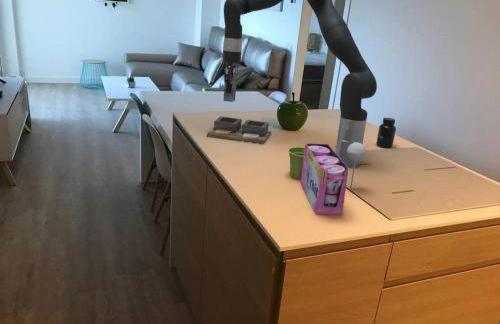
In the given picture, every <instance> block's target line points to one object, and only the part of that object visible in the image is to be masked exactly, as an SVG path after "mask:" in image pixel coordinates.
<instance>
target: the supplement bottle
mask: <svg viewBox="0 0 500 324" xmlns="http://www.w3.org/2000/svg"><path fill="white" fill-rule="evenodd" d="M395 124H396V119H395V118H392V117H383V118H382V123H381V124H380V125H379V126H378V133H377V138H376V142H375V144H376V146H377V147H378V148H382V149H392V148H393V146H394V141H395V136H396V130H397V127H396V126H395Z"/></svg>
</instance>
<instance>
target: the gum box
mask: <svg viewBox="0 0 500 324" xmlns="http://www.w3.org/2000/svg"><path fill="white" fill-rule="evenodd" d="M304 147H305V148H304V158H303V167H302V176H301V179H300V185H301V187H302V190H303V191H304V193H305V196H306V198H307V199H308V202H309V204H310V206H311V209H312V211H313V213H314V214H315V215H327V216H328V215H333V216H334V215H335V216H337V215H338V216H343V210H344V203H345V199H346V198H345V196H346V189H347V183H348V175H349V171H350V170H349V167H347V166H346V164H345V163H344V162H343V161H342V160H341V159H340V158H339V157H338V156H337V154H336V153H335V151H334V149H333V148H332V146H331V145H330V144H328V143H309V142H308V143H305V144H304Z"/></svg>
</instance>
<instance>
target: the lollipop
mask: <svg viewBox="0 0 500 324" xmlns="http://www.w3.org/2000/svg"><path fill="white" fill-rule="evenodd" d="M347 156H348V157H349V159H350V160H352V161H354V167H353V168H352V173H351V181H350V187H349V189H352V187H353V183H354V176H355V175H354V174H355V169H356V167H355V164H356V162H358V161H360V162H361V161H363V160H364V159H365V158H366V156H367V149H366V147H365V145H364V144H363V145H362V144H361V143H353V144H351V145H350V146H349V147H348V149H347Z"/></svg>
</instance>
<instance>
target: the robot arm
mask: <svg viewBox="0 0 500 324" xmlns="http://www.w3.org/2000/svg"><path fill="white" fill-rule="evenodd" d="M283 1H284V0H225V2H224V4H223V18H224V26H225V27H224V34H223V35H224V36H223V37H224V38H223V42H222V44H223V45H222V62H224V63H225V62H226V66H225V68H224V69H223V80H224V82H225V83H226V93H231V89H232V79H233V78H234V74H237V75H238V72H239V65H237V63H241V62H242V54H243V53H242V49H243V25H242V24H241V16H244V15H247V14H250V13H252V12H259V11H263V10H266V9H270V8H273V7H275V6H277V5H279V4H280V3H282V2H283ZM306 1H307V3H308V4H309V7H311V9H312V11H313V13H314V14H315V17H316V19H317V22H318V26H319V30H320V32H321V35H322V37H323V40H324V41H325V45H326V46H327V48H328V50H329V51H330V52H331V54H333V56H334V57H336V59H338V60H339V61H340V62H341V63H342V64H343V65H344V66H345V67H346V69H347V71H348V72H349V73H347V74H346V75H345V76H344V78H343V80H342V82H341V87H340V99H339V110H340V116H339V125H338V130H337V136H336V137H337V139H336V145H335V151H334V152H335V153H336V154H337V156H338V157H339V158H340V159H341V160H342V161H343V162H344V163H345V164H346V166H347V167H348V168H350V169H351V168H352V169H353V167H354V161H352V160H350V159H349V157H348V156H347V149H348V147H349V146H350V145H351V144H353V143H361V144H362V145H364V138H365V131H366V125H367V120H368V111H367V110H366V109H364V108H362V100H363V99H364V100H365V99H369V98H372V97H374V96H375V94H376V93H377V89H378V84H377V83H378V82H377V79H376V77H375V75H374V73H373V72H372V70H371V69H370V66H368V64H367V63H366V61H365V59H364V57H363V56H362V53H361V51H360V50H359V48H358V45H357V44H356V42H355V39H354V38H353V35H352V33H351V31H350V29H349V27H348V24H347V23H346V21H345V20H344V18H343V17H342V15H341V14H340V13H339V11H338V10H337V9H336V7H335V5H334V3H333V0H306ZM231 75H232V76H231ZM228 78H229V80H228ZM360 162H361V161H358V162H356V164H355V168H357V167H359V166H360Z"/></svg>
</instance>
